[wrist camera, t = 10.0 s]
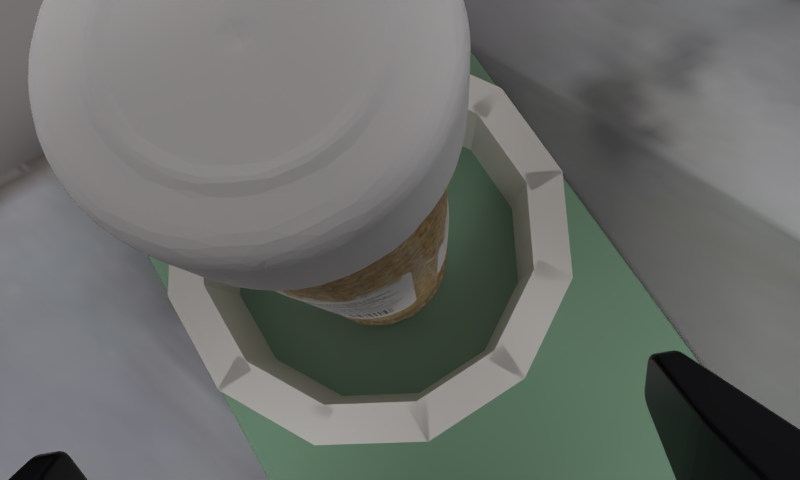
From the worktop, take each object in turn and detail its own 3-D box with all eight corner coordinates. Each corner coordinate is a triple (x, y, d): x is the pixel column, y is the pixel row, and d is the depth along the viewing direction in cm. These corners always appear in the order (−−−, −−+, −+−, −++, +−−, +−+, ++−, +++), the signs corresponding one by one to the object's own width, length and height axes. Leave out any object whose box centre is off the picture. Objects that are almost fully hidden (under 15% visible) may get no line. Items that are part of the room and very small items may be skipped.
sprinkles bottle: (471, 228, 19) (560, -67, 5) (405, 353, 18) (323, 365, 5) (349, 166, 19) (164, -231, 6) (281, 285, 19) (-90, 130, 5)
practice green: (769, 469, 17) (853, 499, 14) (405, 719, 16) (398, 815, 13) (442, 20, 21) (444, -45, 17) (129, 211, 20) (66, 183, 17)
